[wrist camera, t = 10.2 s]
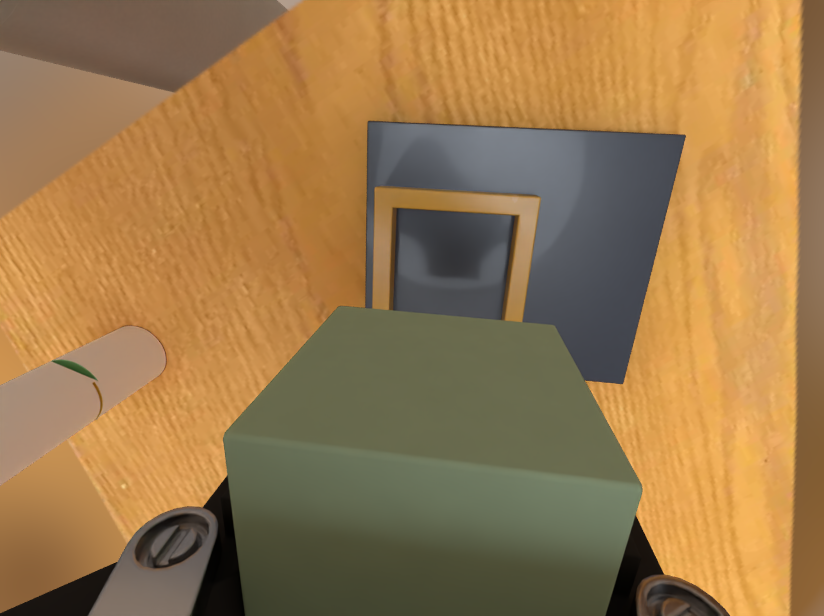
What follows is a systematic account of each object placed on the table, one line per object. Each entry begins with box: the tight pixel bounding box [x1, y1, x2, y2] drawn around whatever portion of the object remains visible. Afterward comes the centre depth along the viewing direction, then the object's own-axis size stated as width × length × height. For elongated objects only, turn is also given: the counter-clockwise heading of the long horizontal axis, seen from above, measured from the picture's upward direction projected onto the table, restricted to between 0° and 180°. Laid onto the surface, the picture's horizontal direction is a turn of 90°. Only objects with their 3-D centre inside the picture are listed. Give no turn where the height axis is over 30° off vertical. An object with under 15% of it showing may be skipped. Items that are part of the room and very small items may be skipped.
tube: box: [0, 326, 166, 485], centre depth 23 cm, size 4×4×15 cm
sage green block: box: [223, 306, 642, 616], centre depth 8 cm, size 7×5×5 cm
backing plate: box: [365, 121, 686, 384], centre depth 23 cm, size 16×14×3 cm
